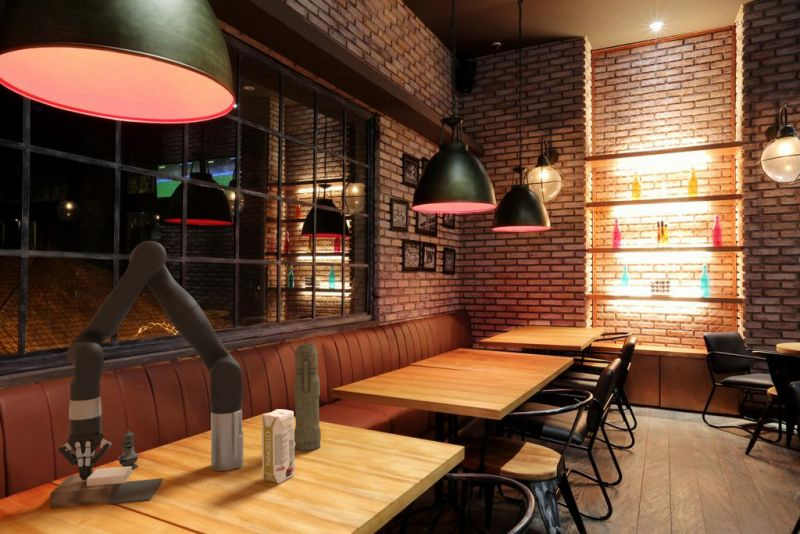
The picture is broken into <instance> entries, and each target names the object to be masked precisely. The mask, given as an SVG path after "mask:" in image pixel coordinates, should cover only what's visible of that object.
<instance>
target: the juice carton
mask: <svg viewBox="0 0 800 534" xmlns="http://www.w3.org/2000/svg"><path fill="white" fill-rule="evenodd" d="M294 415H295V413H294V410H288V409H283V408H281V409H279V408H276V409H275V410H273V411H271V412H266V413H263V414H262V413H261V442H262V444H261V445H262V446H261V449H262V451H261V452H262V453H261V454H262V456H261V457H262V460H261V461H262V480H263V481H265V482H270V483H274V484H282V483H283V482H284V481H287V480H289V479H290V478H292V477H294V476H295V475H296V474H295V473H296V472H295V470H296V469H295V464H296V463H295V441H294V431H295V419H294V418H295V416H294Z"/></svg>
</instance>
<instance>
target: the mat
mask: <svg viewBox="0 0 800 534" xmlns="http://www.w3.org/2000/svg"><path fill="white" fill-rule="evenodd" d="M163 481H164V478H162V477H161V478H151V479H139V480H129V481H128V480H126V481H125V483H124V484H123V486H122V487H121V488H120V489H119V491H118V492H117V493H116V494H115V495H114V497H113V498H112V499H111V500H110V502H109V503H108V505H117V504H118V505H119V504H127V503H128V504H129V503H139V502H146V501H147V502H148V501H151V500H152V498H153V497H154V495H155V493H156V492H157V490H158V489H159V487H160V486H161V484H162V482H163Z"/></svg>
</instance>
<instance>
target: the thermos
mask: <svg viewBox="0 0 800 534" xmlns="http://www.w3.org/2000/svg"><path fill="white" fill-rule="evenodd" d="M318 357H319V355H318V350H317V347H316V345H314V344H313V343H303V344H299V345H297V347H296V350H295V353H294V359H295V360H294V362H295V363H294V366H295V376H294V379H293V397H294V399H295V401H294V403H295V426H294V450H296V451H298V452H307V453H308V452H314V451H317V450H319V449H321V440H322V432H321V428H320V399H319V398H320V396H321V380H320V376H319V371H318V367H319V365H318V364H319V363H318V362H319V361H318V359H319V358H318Z"/></svg>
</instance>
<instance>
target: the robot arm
mask: <svg viewBox="0 0 800 534" xmlns="http://www.w3.org/2000/svg"><path fill="white" fill-rule="evenodd" d="M166 261H167V251H166V249H165V247H164V246H163V245H162V244H161V243H159V242H158V241H153V240H146V241H145V240H144V241H142V242H140V243H139V244H137V245H136V246H135V248H134V249H132V251H131V253H130V255H129V264H128V266H127V268H126V270H125V272H124V274H123V275H122V277H121V278H120V280H119V281H118V283H117V284H116V285H115V287H113V289H112V290H111V292H110V293H109V294H108V295H107V297H106V298H105V299H104V301H103V302H102V304H101V305H100V306H99V307H98V309H97V310H96V312H95V313H94V315H93V316H92V318H91V319H90V321H89V323H88V324H87V325H86V326H85V327H84V329H83V330H81V332H80V333H79V334H77V336H76V337H75V338H74V339H73V341H72V342H71V343H70V345H69V346H68V349H67V351H66V359H67V361H68V362H69V363H70V364H71V365H73V366H75V367H74V368H75V369H74V377H73V378H72V379H71V381H70V385H69V396H70V397H69V405H68V406H69V407H68V417H69V418H68V420H69V422H68V423H69V424H68V434H69V436H68V439H67V442H65V444H63V445H61V446H59V448H58V451H59V453H60V454H61V455H62V456H63V457H64V458H65V459H66V460H67V461H68V463H70V465H71V466H75V465H76V466H78V468H79V470H78V473H79V474H78V475H79V477H80V478H82V480H87V478H88V477H89V476H90V475H91V474H92V473H93V472H94V470H93V469H94V464H96V463H98V461H100V460H101V459H102V457H103V456H104V455H105V453H106V452H107V451H108V450H109V448H110V447H111V446H112V445H113V441H110V440H109V441H108V440H107V439H105V437H104V434H103V431H102V429H103V428H102V426H103V425H102V423H103V421H102V420H103V418H102V417H103V416H102V413H103V412H102V411H103V410H102V399H101V378H102V373H103V368H104V361H105V355H104V350H103V348H102V345H103V344H104V342H105V341H106V340H107V339H110V338H112V337H113V336H114V335H115V333H116V332H117V331H118V329H119V328H120V326H121V324H122V323H123V321H124V320H125V318H126V317H127V315H128V314H129V312H130V310H131V308H132V307H133V304H134V303H135V302H136V299H137V298H138V296H140V295H139V294H140V293H141V291H142V290H143V289H144V287H145V286H147V287H148V289H149V290H150V291H151V292H152V293H153V295H154V296H155V298H156V300H157V301H158V304H159V305H160V306H161V308H162V310H163V311H164V313H165V314H166V316H167V318H168V319H169V321H170V322H171V324H172V325H173V326H174V328H175V330H176V331H177V333H178V334H179V335H180V336H181V337H182V338H183V340H185V342H187V344H189V346H191V347H192V348H193V350H195V352H196V353H197V354H198V355H199V357H200V358H201V360H202V361H203V363H204V365H205V366H206V369H207V371H208V373H209V374H210V375H209V377H210V379H209V380H210V381H209V383H210V444H211V445H210V446H211V447H210V450H211V451H210V454H211V455H210V456H211V457H210V458H211V460H210V461H211V462H210V463H211V469H212V470H213V471H219V472H220V471H224V472H225V471H230V470H231V471H232V470H236V469H239V468H242V467H243V463H244V462H245V461H244V431H243V370H242V367H241V365H240V363H239V362H238V361H237V359H235V357H234V356H233V355H232V354H231V353H230V352H229V351H228V350H227V348H226V347H225V346H224V345H223V343H222V342H221V340H220V339H219V338H218V336H217V334H216V331H215V330H214V328H213V326H212V324H211V322H210V320H209V318H208V317H207V315H206V314H205V312H204V310H203V309H202V308H201V306H200V305H199V303H198V302H197V301H196V299H195V298H194V297H193V296H192V295H191V294H190V293H189V292H188V291H186V289H185V288H183V287H182V286H181V285H180V284H179V283H178V282H177V281H176V280H175V279H174V277H173V276H172V274H171V272H170V271H169V269H168V267H167V266H166ZM99 446H100V450H99V452H98V453H97V454H96V455H95V453H96V450H97V448H98V447H99Z"/></svg>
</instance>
